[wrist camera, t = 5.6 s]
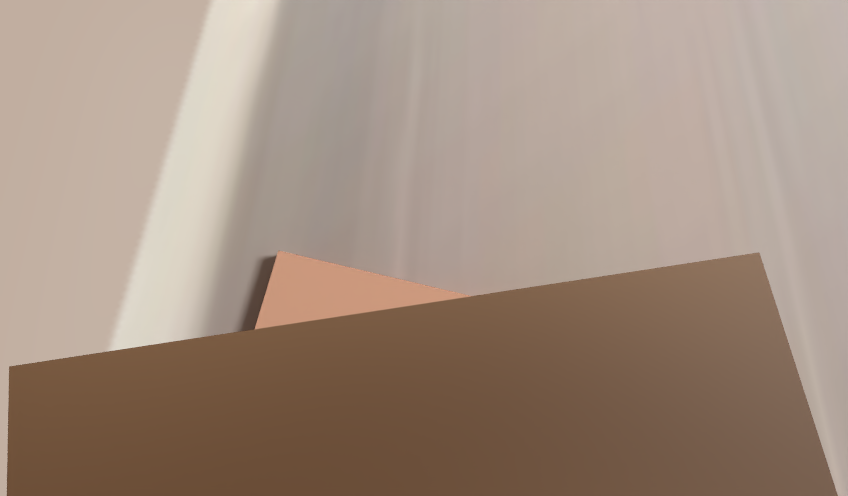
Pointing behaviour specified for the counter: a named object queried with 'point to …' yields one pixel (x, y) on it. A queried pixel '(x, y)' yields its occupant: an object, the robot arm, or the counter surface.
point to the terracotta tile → (334, 292)
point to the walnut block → (445, 400)
